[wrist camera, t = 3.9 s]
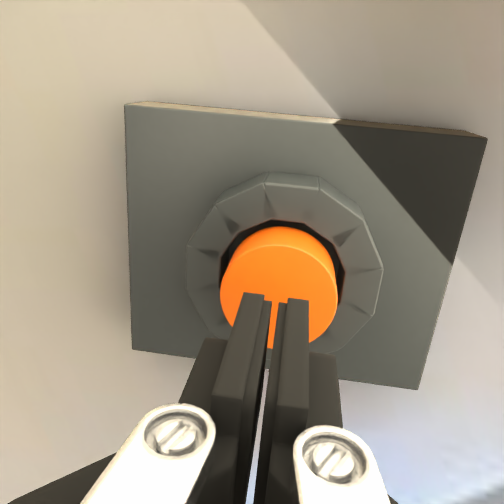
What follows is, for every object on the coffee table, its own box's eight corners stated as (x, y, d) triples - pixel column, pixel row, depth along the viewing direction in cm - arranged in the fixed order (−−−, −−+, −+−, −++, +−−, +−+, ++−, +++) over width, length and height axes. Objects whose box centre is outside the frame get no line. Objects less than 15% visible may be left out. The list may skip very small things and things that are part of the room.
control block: (465, 130, 16) (513, 146, 12) (407, 358, 20) (429, 423, 16) (145, 101, 17) (99, 107, 13) (148, 323, 21) (113, 376, 17)
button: (342, 232, 14) (347, 252, 12) (326, 327, 15) (328, 357, 14) (232, 220, 14) (222, 237, 13) (226, 314, 16) (216, 341, 14)
